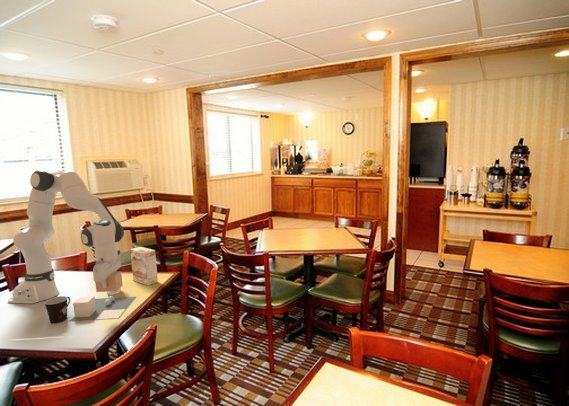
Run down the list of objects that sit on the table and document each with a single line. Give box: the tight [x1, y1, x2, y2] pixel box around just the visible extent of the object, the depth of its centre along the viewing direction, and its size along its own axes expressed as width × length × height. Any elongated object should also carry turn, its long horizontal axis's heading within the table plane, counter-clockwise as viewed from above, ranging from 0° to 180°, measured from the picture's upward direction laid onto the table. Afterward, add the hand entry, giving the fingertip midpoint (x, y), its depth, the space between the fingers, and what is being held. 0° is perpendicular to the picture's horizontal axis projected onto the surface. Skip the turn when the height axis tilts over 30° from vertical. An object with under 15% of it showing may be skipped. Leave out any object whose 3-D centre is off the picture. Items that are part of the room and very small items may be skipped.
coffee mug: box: [44, 295, 71, 325], centre depth 158 cm, size 12×9×10 cm
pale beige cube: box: [72, 296, 96, 317], centre depth 162 cm, size 7×7×7 cm
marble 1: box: [104, 299, 111, 306], centre depth 171 cm, size 3×3×3 cm
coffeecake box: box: [129, 246, 159, 286], centre depth 202 cm, size 15×7×20 cm, turn 55°
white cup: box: [106, 286, 122, 296], centre depth 187 cm, size 8×8×10 cm
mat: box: [69, 296, 137, 322], centre depth 168 cm, size 22×24×1 cm
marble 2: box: [107, 295, 116, 302], centre depth 175 cm, size 3×3×3 cm
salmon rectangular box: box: [94, 271, 123, 293], centre depth 159 cm, size 7×9×7 cm
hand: (109, 284), depth 160 cm, fingers closed on salmon rectangular box, 7 cm apart
